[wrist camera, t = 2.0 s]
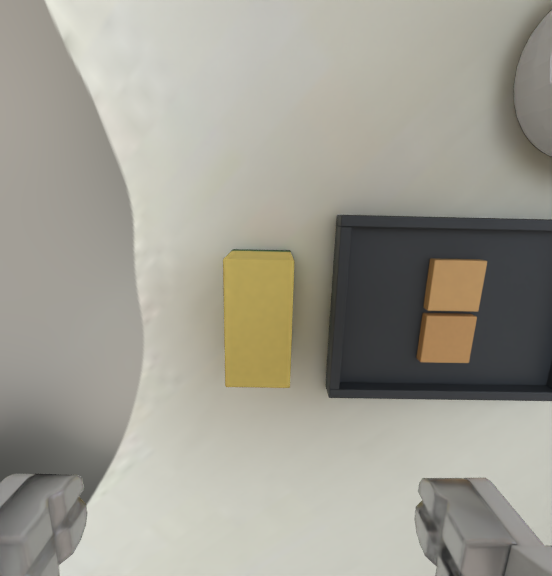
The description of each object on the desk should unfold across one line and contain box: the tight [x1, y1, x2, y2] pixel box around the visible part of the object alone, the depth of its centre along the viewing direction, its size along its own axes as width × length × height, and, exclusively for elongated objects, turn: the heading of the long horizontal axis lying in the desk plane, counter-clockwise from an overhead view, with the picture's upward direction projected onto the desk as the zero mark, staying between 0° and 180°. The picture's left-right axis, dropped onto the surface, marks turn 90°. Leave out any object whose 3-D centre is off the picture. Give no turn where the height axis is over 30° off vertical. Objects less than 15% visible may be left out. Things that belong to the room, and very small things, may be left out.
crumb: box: [417, 313, 477, 363], centre depth 25 cm, size 4×4×1 cm
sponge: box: [223, 249, 294, 388], centre depth 23 cm, size 9×4×5 cm, turn 179°
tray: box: [326, 215, 552, 401], centre depth 25 cm, size 15×20×2 cm
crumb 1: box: [423, 258, 487, 312], centre depth 24 cm, size 4×4×1 cm
